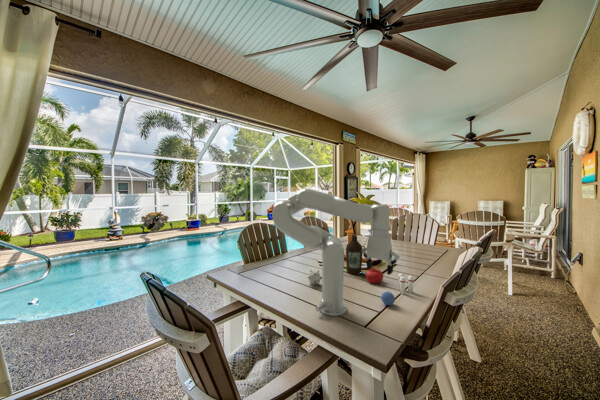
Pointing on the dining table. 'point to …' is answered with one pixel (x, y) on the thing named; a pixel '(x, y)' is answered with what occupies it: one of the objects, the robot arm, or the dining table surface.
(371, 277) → the pomegranate
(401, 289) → the front pin
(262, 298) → the dining table surface
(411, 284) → the pin
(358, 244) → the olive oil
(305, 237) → the robot arm
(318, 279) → the game die
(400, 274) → the pin
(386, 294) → the ball
